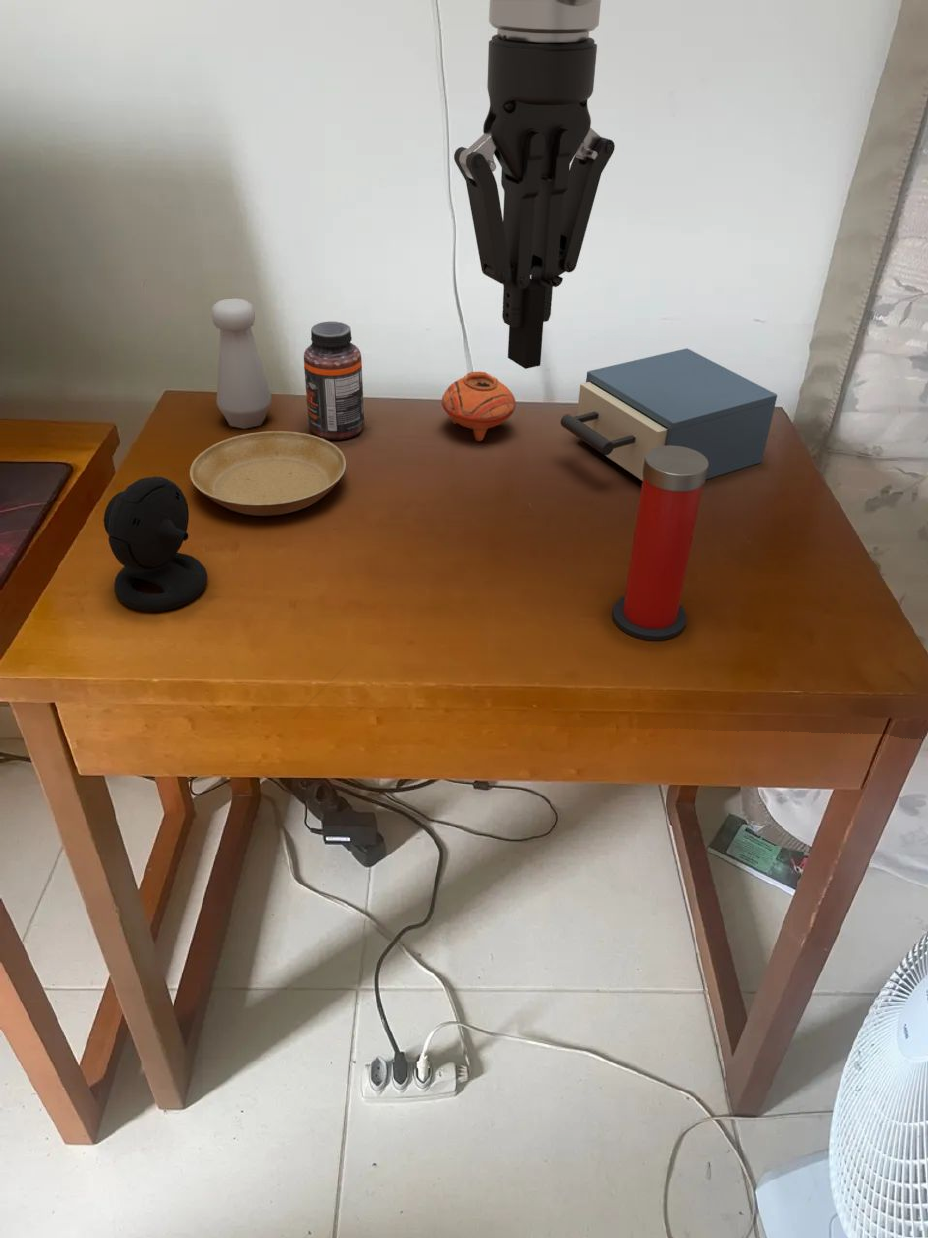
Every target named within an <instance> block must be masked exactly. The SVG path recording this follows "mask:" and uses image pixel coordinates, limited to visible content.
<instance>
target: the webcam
mask: <svg viewBox="0 0 928 1238" xmlns="http://www.w3.org/2000/svg"><path fill="white" fill-rule="evenodd" d="M189 512H190V511H189V504H188V501H187V498H186V496H185V494H184V492H183V491H182V489H181V488H180V487H179V486H178V485H177V484H176V483H175V482H174V481H172V480H170V479H168V478H166V477H162V476H157V475H156V476H155V475H154V476H150V477H149V476H148V477H143V478H139V479H137V480H136V481H134V482H133V483H131V484H130V485H128V486H127V487H126V488H125V489H124V490H122V491H120V492H117V493H116V494H115V495H114V496H113V497H112V498H111V499H110V500H109V502H108V503H107V505H106V507H105V510H104V513H103V527H104V530H105V532H106V534H107V535H108V543H109V547H110V549H111V552H112V554H113V555H114V557H115V559H116V560H117V561H118V563H120V564H121V565H122V566H123V567H122V568H121V569H119V571H118V573H117V574H116V576H115V579H114V584H113V587H114V590H113V591H114V594H115V596H116V597H117V599H118V600H119V601H120V602H121V603H122V604H123V605H125V606H127V607H129V608H130V609H133V610H136V611H141V612H166V611H169V610H174V609H177V608H179V607H181V606H184V605H186V604H189V603H190V602H192V601H194V600H195V599H197V598H198V597H199V596H200V595H201V593H203V591H204V590H205V588H206V585H207V582H208V573H207V569H206V567H205V566H204V565H203V563H202V562H201V561H200V560H199V559H197V558H195V557H193V556H192V555H189V554H186V553H181V552H179V550H180V549H181V547H182V545H183V542H186V541H187V540H188V539H189V533H188V528H189V527H188V526H189V521H190V519H189V518H190V516H189V515H190V513H189ZM137 579H140V580H144V581H147V582H150V583H153V584H154V585H156V586H158V587H160V588H161V589H162V591H163V592H159V593H147V592H141V591H139V590H136V589H135V588H134V587H133V584H134V583H135V581H137Z"/></svg>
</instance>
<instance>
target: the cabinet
mask: <svg viewBox="0 0 928 1238" xmlns="http://www.w3.org/2000/svg"><path fill="white" fill-rule="evenodd" d="M587 382H590V383H592V384H594V385H595V386H597V387H599V388H600V389H602V390H603V389H605V390H606V391H608V392H610V393H611V394H613V395H615V396H616V397H618V398H619V399H621V400H623V401H624V402H626V403H628V404H629V405H631V406H633V407H634V408H636V409H638V410H639V411H641V412H642V413H644V414H646V415H647V416H649V417H651V418H652V419H654V420H656V421H657V422H659V423H661V424H662V425H664V426H665V427H667V435H666V441H665V446H669V445H672V446H682V447H686V448H690V449H693V450H695V451H697V452H699V453H701V454H702V455H704V456H705V457H706V459H707V460H708V469H707V474H706V480H709V479H712V478H716V477H719V476H722V475H726V474H728V473H732V472H735V471H738V470H742V469H745V468H748V467H751V466H754V465H757V464H761V463H763V459H764V455H765V450H766V446H767V442H768V437H769V435H770V434H769V433H770V428H771V426H772V425H771V424H772V421H773V417H774V412H775V408H776V405H777V404H776V403H777V398H778V394H777V393H775V392H773V391H771V390H769V389H767V388H765V387H763V386H761V385H759V384H757V383H756V382H753V381H752V380H750V379H748V378H745V377H744V376H742V375H740V374H738V373H736V372H734V371H732V370H730V369H728V368H727V367H724V366H722V365H721V364H719V363H716V362H714V361H713V360H711V359H708V358H707V357H705V356H703V355H701V354H700V353H697V352H695V351H694V350H691V349H689V348H688V347H687V348H682V349H678V350H674V351H670V352H665V353H660V354H657V355H656V354H655V355H652V356H647V357H644V358H638V359H635V360H630V361H626V362H622V363H617V364H614V365H609V366H605V367H600V368H596V369H592V370H588V371H586V379H585V383H587Z"/></svg>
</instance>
